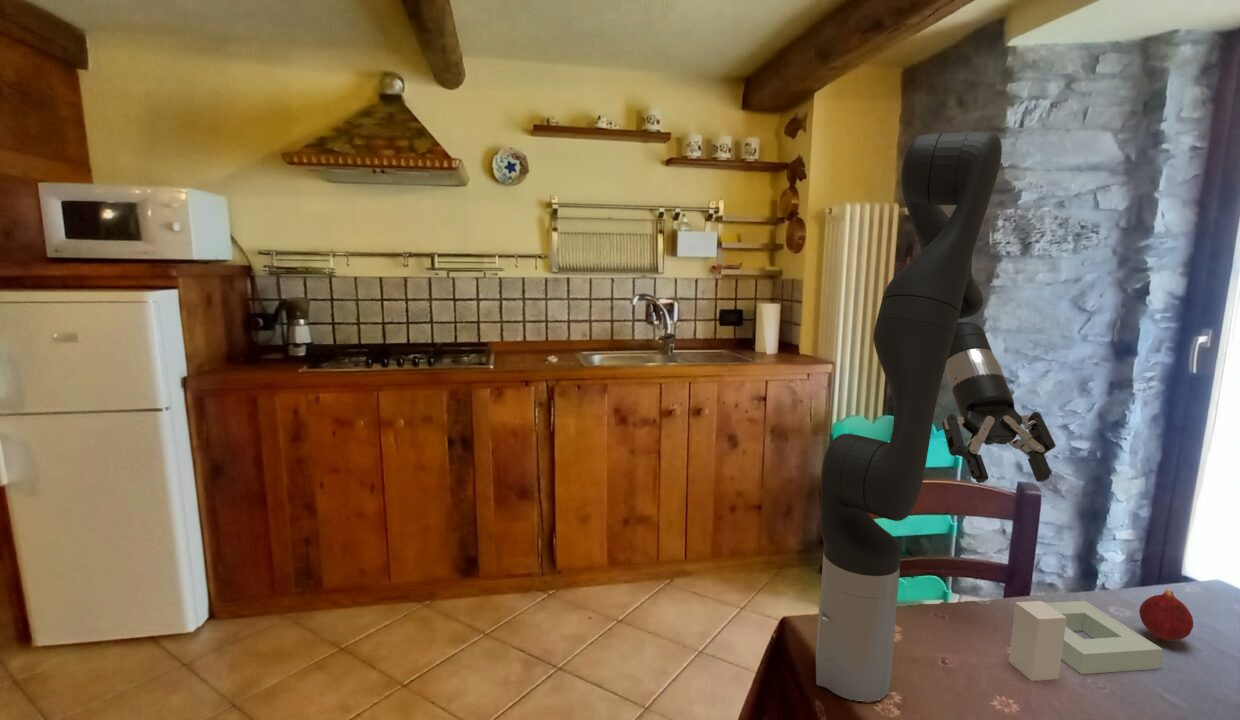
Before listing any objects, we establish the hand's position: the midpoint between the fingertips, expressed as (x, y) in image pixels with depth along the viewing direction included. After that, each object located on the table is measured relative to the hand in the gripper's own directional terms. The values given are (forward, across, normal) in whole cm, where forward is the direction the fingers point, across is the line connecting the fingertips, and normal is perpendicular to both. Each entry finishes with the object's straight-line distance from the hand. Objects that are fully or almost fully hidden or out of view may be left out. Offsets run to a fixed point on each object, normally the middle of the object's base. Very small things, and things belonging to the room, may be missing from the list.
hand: (1013, 480), depth 84 cm
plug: (+24, -1, +10) cm, 26 cm away
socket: (+20, +10, +15) cm, 27 cm away
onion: (+20, +23, +16) cm, 35 cm away
